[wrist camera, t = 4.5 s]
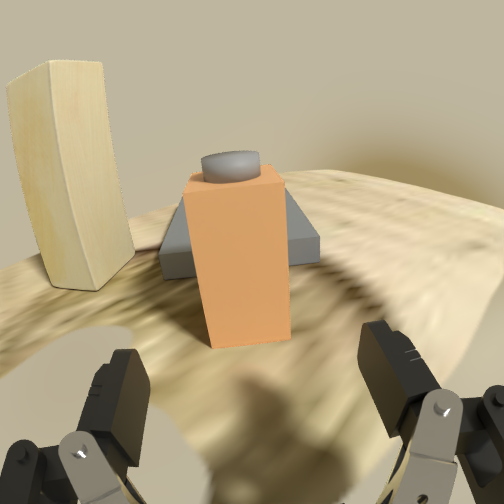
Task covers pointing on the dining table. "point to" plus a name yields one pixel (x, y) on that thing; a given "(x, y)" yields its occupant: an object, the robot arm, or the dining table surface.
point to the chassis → (181, 256)
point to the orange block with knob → (240, 248)
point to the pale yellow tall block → (70, 172)
